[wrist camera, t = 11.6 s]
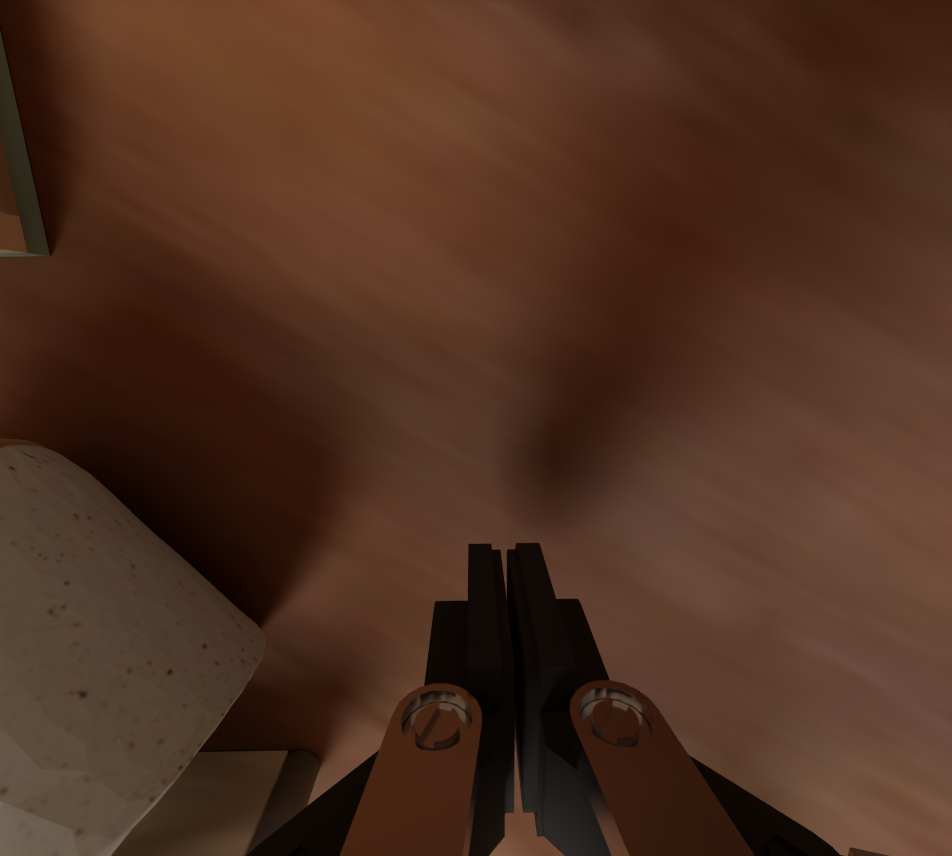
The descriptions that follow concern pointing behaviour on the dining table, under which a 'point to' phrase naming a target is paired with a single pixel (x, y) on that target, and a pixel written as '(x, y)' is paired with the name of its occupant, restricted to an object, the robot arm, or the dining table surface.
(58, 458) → the ceramic mug
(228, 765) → the scoring rail
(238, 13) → the dining table surface
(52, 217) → the dining table surface
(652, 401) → the dining table surface
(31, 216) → the felt tray
